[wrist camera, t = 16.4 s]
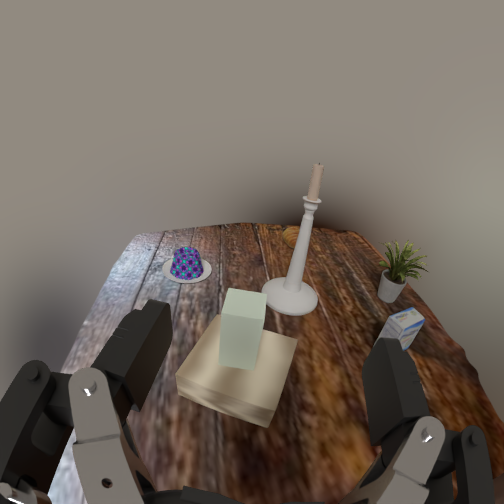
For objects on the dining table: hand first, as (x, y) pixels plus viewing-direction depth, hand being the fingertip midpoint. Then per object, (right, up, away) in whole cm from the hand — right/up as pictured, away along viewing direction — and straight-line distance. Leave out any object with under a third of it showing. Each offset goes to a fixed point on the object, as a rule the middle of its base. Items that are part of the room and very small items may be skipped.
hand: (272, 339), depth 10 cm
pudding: (-17, -2, +56) cm, 58 cm away
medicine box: (+28, -17, +39) cm, 51 cm away
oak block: (-3, -17, +31) cm, 35 cm away
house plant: (+33, -9, +55) cm, 64 cm away
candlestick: (+8, -7, +52) cm, 53 cm away
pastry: (+12, +6, +77) cm, 78 cm away
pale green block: (-3, -12, +28) cm, 31 cm away
